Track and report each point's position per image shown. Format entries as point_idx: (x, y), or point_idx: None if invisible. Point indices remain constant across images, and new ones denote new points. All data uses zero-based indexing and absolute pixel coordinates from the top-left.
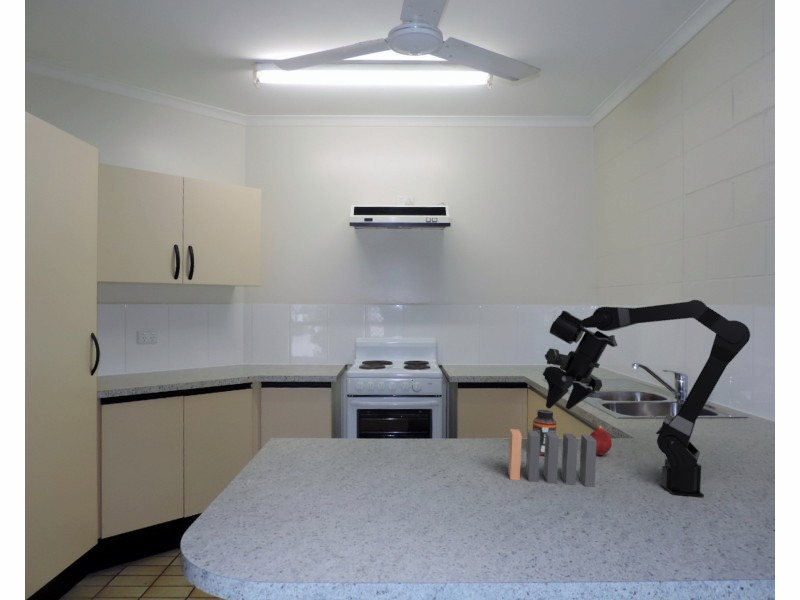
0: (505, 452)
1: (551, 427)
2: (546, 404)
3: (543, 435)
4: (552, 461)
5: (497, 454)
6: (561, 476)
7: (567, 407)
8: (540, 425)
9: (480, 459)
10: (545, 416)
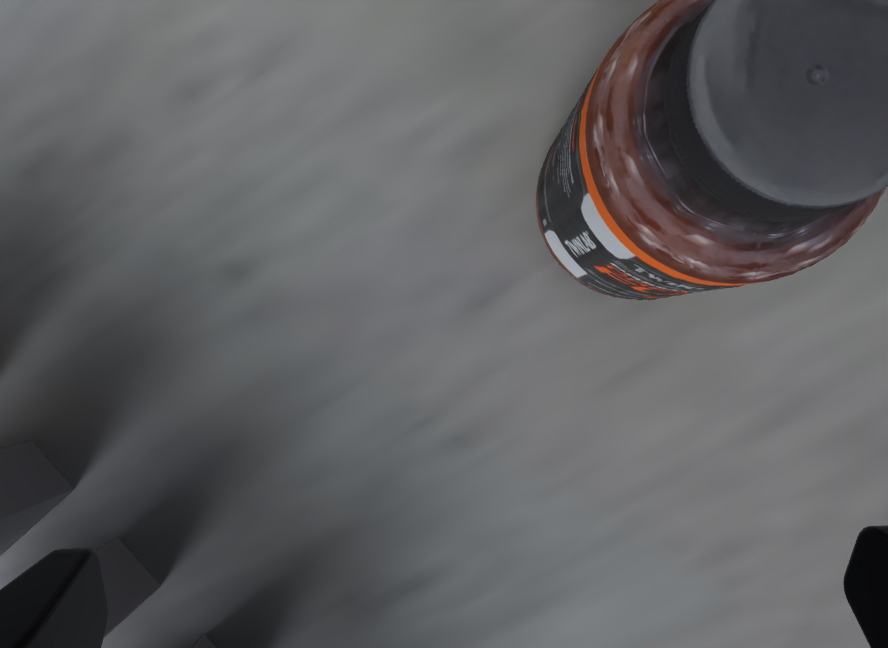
0: (360, 9)
1: (673, 276)
2: (24, 585)
3: (580, 226)
4: None
5: (250, 9)
6: (199, 639)
7: (865, 572)
8: (584, 167)
9: (14, 23)
10: (689, 168)
